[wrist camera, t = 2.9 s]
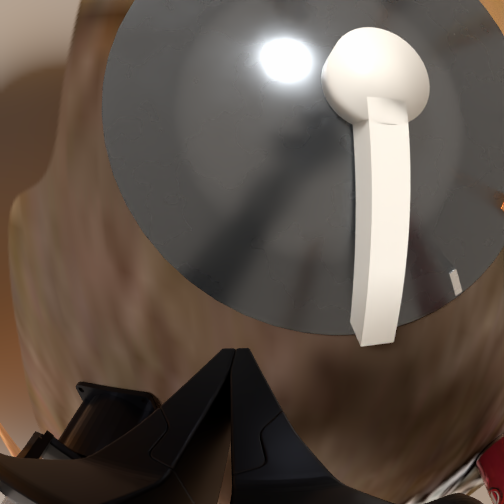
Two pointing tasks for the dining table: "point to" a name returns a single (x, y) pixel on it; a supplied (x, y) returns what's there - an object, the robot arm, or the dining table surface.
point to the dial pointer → (378, 165)
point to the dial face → (300, 150)
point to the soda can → (493, 469)
